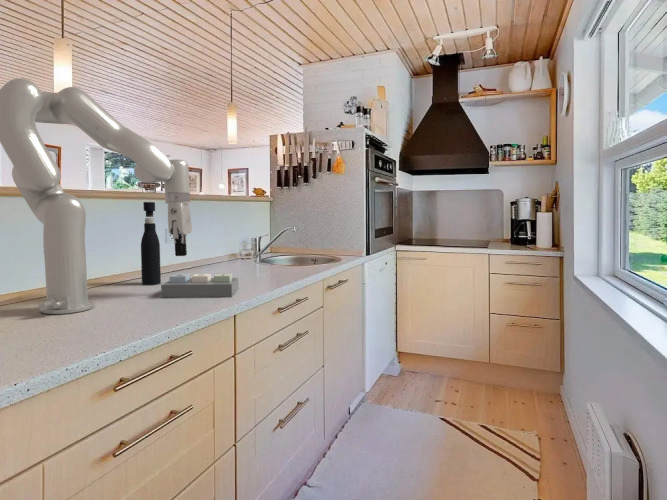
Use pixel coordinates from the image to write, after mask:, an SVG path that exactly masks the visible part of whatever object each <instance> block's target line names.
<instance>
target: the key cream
mask: <svg viewBox="0 0 667 500" xmlns="http://www.w3.org/2000/svg"><path fill="white" fill-rule="evenodd" d="M191 278H192V283H209V282H210V281H211V278H212V274H211V273H195V274H194V275H191Z"/></svg>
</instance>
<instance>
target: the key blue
mask: <svg viewBox="0 0 667 500" xmlns="http://www.w3.org/2000/svg"><path fill="white" fill-rule="evenodd" d="M190 275H191V274H190V273H176V274H175V273H174V274H172V275H170V276H168V277H169V278H168V279H169V281H170V283H187V282H189V281H190V278H191V276H190Z"/></svg>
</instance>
